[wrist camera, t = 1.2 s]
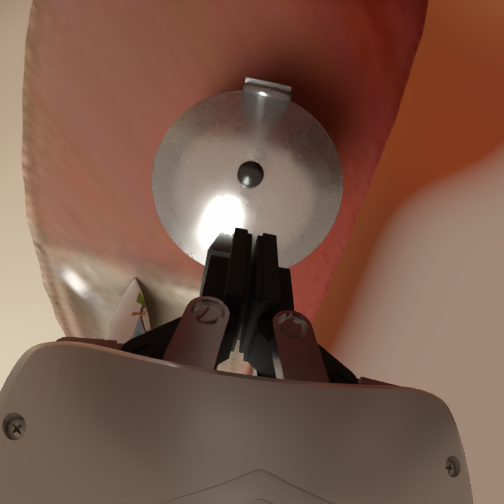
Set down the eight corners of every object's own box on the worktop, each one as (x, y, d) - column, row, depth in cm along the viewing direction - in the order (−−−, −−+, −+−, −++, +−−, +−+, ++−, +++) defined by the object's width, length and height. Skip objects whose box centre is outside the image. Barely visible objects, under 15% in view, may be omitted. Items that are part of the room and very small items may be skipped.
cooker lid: (181, 76, 28) (178, 65, 26) (349, 113, 30) (358, 104, 27) (130, 311, 29) (123, 318, 27) (308, 342, 31) (315, 351, 29)
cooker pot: (205, 68, 37) (186, 68, 28) (327, 94, 39) (348, 103, 29) (182, 225, 53) (165, 266, 43) (282, 244, 54) (286, 289, 44)
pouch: (130, 331, 70) (107, 398, 54) (122, 274, 60) (85, 348, 43) (160, 337, 71) (141, 407, 55) (157, 280, 60) (128, 359, 44)
